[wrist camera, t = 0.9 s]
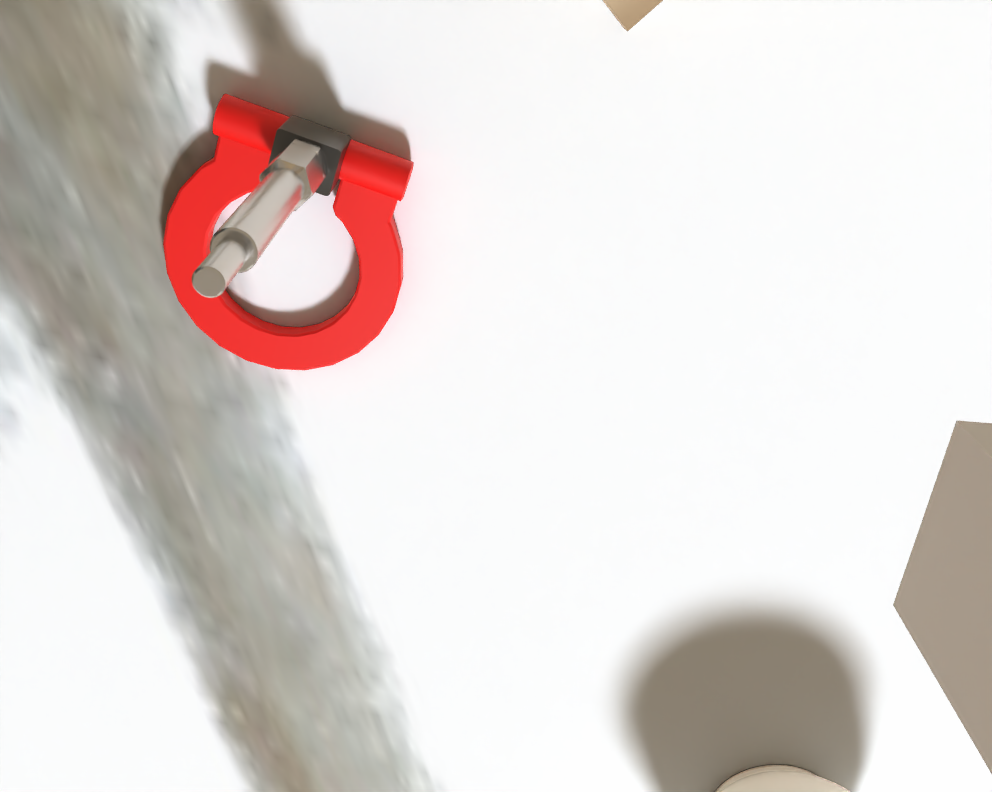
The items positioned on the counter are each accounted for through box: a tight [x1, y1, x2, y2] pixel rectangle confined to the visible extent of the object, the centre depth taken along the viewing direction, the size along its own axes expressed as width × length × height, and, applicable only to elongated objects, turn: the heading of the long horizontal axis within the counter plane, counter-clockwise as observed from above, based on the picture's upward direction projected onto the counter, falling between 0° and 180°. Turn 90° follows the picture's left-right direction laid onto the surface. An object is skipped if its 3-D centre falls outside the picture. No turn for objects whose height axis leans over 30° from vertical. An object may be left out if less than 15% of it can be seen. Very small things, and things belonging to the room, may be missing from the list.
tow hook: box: [163, 94, 414, 370], centre depth 29 cm, size 8×13×9 cm
